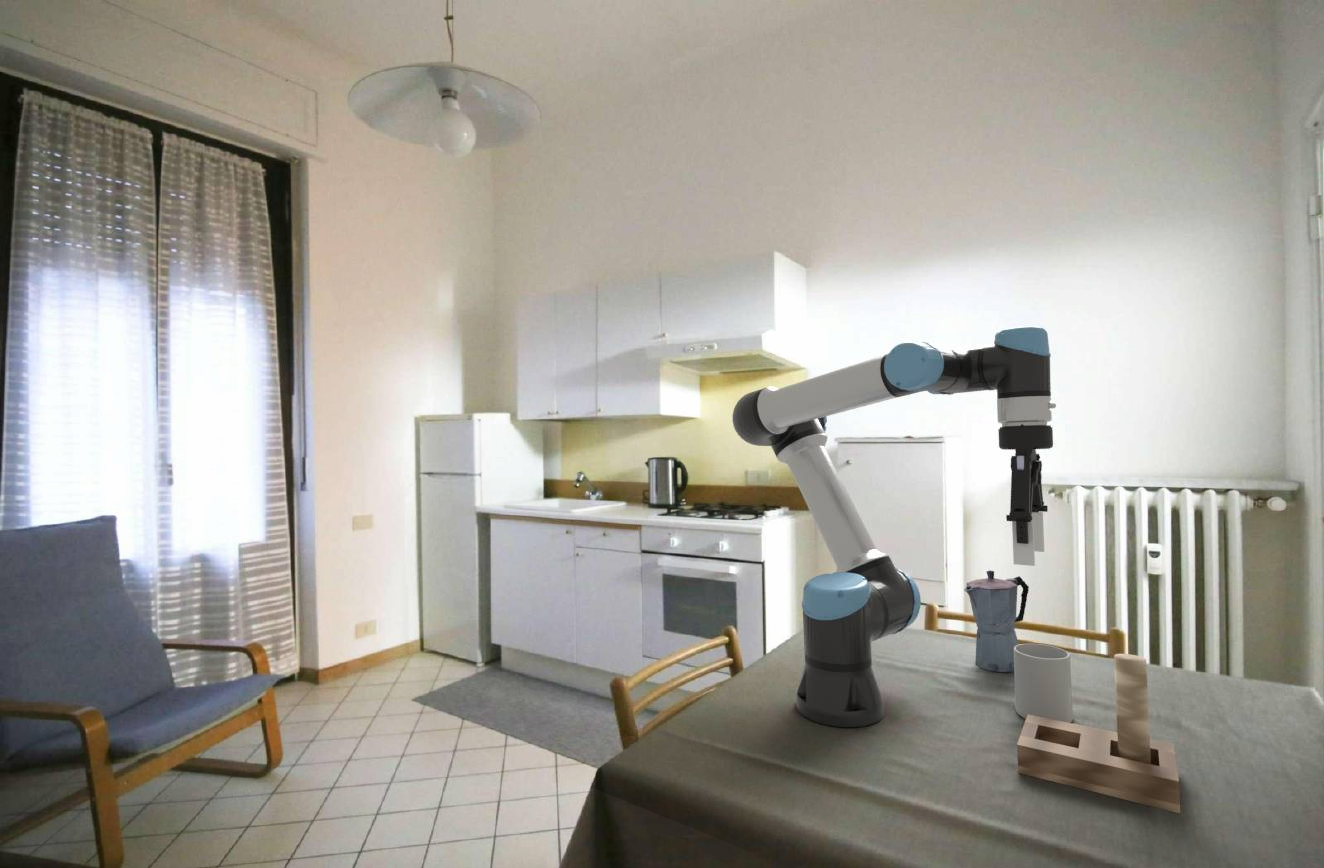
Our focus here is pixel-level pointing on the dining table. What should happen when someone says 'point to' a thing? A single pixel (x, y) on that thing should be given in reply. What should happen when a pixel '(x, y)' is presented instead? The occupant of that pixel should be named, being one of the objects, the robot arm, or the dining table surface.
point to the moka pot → (996, 620)
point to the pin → (1132, 708)
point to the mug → (1043, 682)
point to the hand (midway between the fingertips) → (1029, 557)
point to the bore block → (1097, 762)
